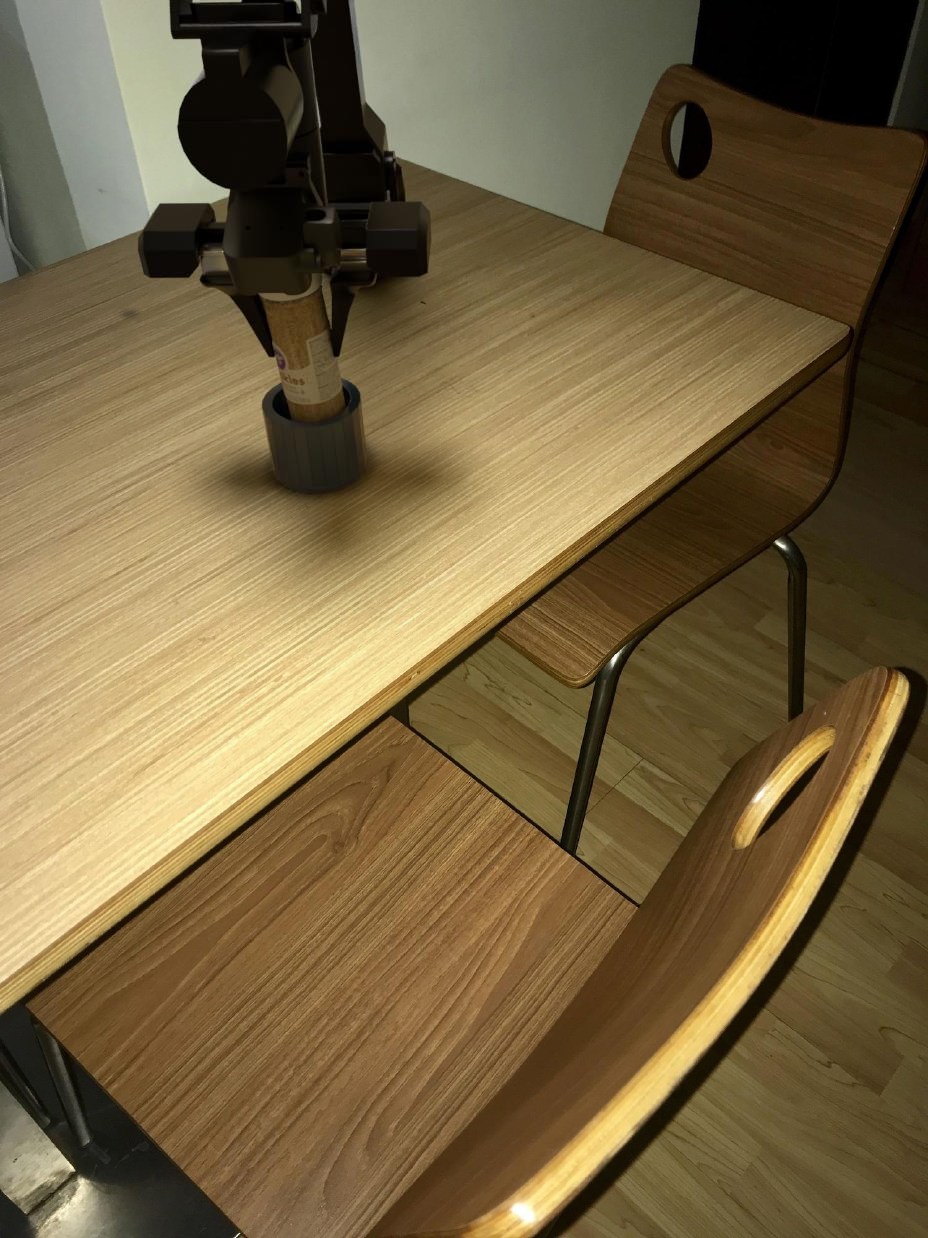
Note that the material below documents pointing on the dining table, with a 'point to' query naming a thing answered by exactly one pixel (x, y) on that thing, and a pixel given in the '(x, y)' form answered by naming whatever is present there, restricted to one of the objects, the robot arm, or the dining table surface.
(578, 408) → the dining table surface
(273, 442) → the pot
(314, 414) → the sprinkles bottle
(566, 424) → the dining table surface
